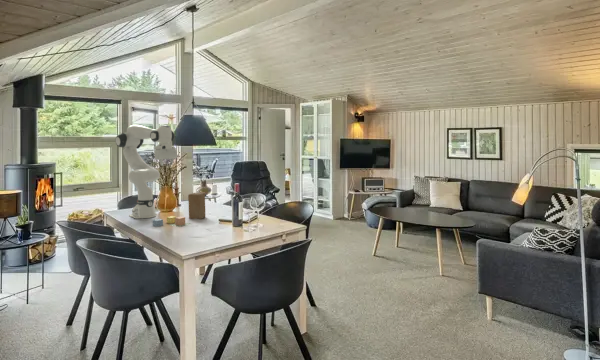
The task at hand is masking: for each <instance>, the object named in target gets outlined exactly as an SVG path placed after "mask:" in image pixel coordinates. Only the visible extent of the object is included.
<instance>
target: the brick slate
mask: <svg viewBox="0 0 600 360" xmlns="http://www.w3.org/2000/svg"><path fill="white" fill-rule="evenodd" d="M152 226H153V227H161V226H164V219H161V218H157V219H152Z"/></svg>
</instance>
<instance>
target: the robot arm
mask: <svg viewBox="0 0 600 360" xmlns="http://www.w3.org/2000/svg"><path fill="white" fill-rule="evenodd" d="M175 138H176V135H175V133H174V131H173V130H172V128H171V126H170V125H168V124H159V127H157V128H156V129H153V128H150V127H147V126H143V125H141V124H140V125H139V124H132V125H129V126H128V127H127V128H126V131H125V132H121V133H120V134H118V135H116V137H115V139H114V140H115V141H114V142H115V145H116V146H117V147H118V148H124V149H123V150H122V154H123V157H124V158H125V161H126V163H127V164H128V165H129V167H130V168H131V169H132V170H131V171H130V172H129V174H128V180H129V181H130V182H131V183H132V184H133V185H134V186H135V187H136V190H137V200H136V205H135V206H134V207H132V210H131V211H132V212H131V214H129V215H128V216H129V217H130V218H134V219H150V218H155V217H156V216H157V212H156V206H155V204H154V203H155V200H154V194H153V193H154V192H153V191H154V190H153V188H151V187H150V186H148V184H147V183H153V182H155V181H158V180H159V179H160V176H161V173H160V171H159V170H158V169H157V168H154V167H152V166H151V165H149V164H148V163H146V162H145V160H144V159H143V158H142V156H141V155H140V153H139V152H138V150H137V149H140V148H141V147H142V146H143V143H144V142H145V141H144V140H148V139H151V141H152V142H153V143H159V144H157V145H155V146H154V159H155V160H159V163H160V166H161V167H162V166H164V165H165V163H164V162H163V160H170V162H169V165H170V166H173V165H174V159H177V158H178V151H177V149H176V147H175V146H173V141H174V140H175Z"/></svg>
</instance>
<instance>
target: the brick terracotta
mask: <svg viewBox="0 0 600 360" xmlns="http://www.w3.org/2000/svg"><path fill="white" fill-rule="evenodd" d="M185 223H186V217H184V216H176V218H175V223H174V224H175V225H184V224H185Z"/></svg>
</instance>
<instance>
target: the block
mask: <svg viewBox="0 0 600 360" xmlns="http://www.w3.org/2000/svg"><path fill="white" fill-rule="evenodd" d="M187 196H188V197H187V199H188V200H187V202H188V219H190V220H191V219H192V220H194V219H196V220H202V219H204V218H206V194H205V192H192V193H189V194H188V195H187Z"/></svg>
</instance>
